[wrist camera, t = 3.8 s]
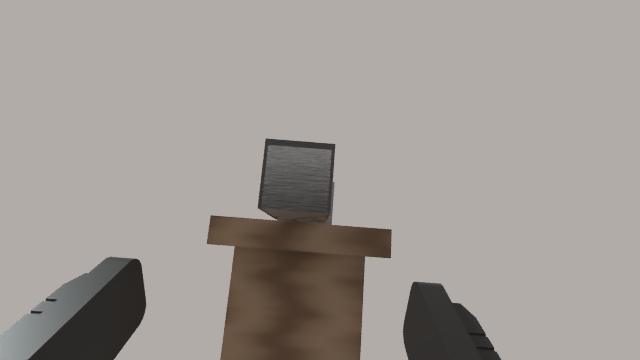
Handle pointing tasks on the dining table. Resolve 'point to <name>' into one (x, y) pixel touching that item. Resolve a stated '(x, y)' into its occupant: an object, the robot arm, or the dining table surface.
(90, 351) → the robot arm
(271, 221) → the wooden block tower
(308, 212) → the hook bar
